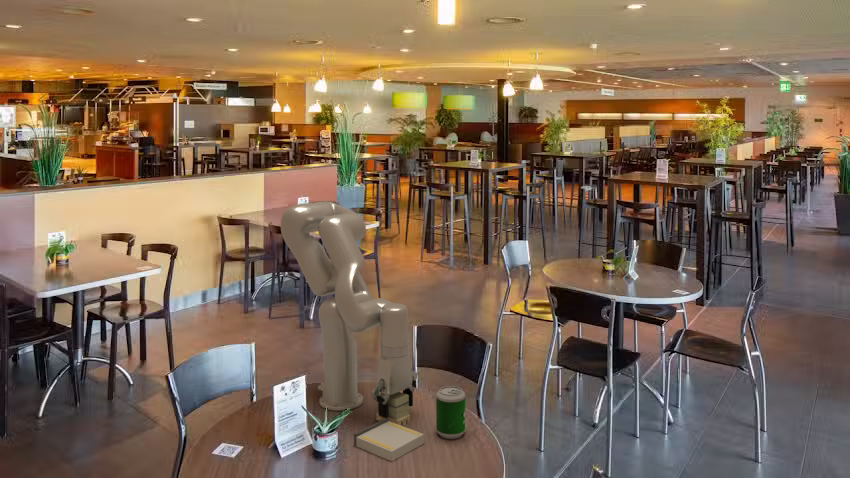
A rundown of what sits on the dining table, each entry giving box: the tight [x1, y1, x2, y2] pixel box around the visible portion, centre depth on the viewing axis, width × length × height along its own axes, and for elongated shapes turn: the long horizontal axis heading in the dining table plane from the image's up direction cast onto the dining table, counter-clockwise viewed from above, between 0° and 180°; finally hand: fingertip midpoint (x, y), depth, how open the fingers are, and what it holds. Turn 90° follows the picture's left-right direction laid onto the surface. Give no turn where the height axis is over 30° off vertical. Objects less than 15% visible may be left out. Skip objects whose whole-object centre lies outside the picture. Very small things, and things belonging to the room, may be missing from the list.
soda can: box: [435, 385, 466, 440], centre depth 174 cm, size 8×8×12 cm
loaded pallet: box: [376, 390, 412, 426], centre depth 182 cm, size 8×5×8 cm, turn 50°
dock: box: [353, 418, 425, 462], centre depth 169 cm, size 13×12×3 cm
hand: (395, 410), depth 182 cm, fingers open, 9 cm apart
